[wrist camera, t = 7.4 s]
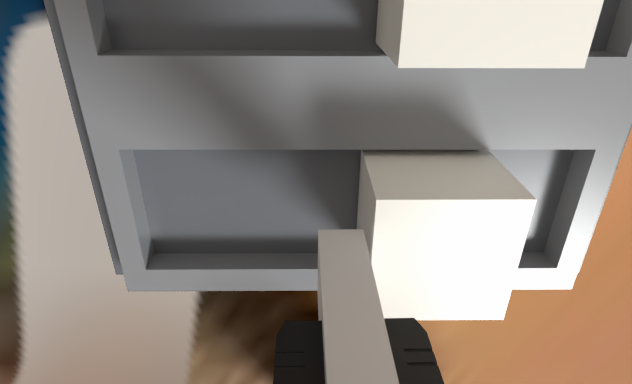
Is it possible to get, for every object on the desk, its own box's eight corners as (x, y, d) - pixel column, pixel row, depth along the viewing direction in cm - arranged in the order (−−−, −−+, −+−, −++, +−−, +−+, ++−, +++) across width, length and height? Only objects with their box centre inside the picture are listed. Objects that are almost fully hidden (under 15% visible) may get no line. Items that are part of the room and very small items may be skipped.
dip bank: (125, 259, 21) (103, 294, 19) (16, -184, 13) (-45, -216, 11) (565, 257, 22) (596, 292, 19) (711, -177, 14) (793, -206, 11)
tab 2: (355, 250, 19) (366, 320, 16) (361, 147, 17) (376, 199, 13) (464, 249, 20) (503, 319, 16) (485, 147, 17) (536, 199, 13)
